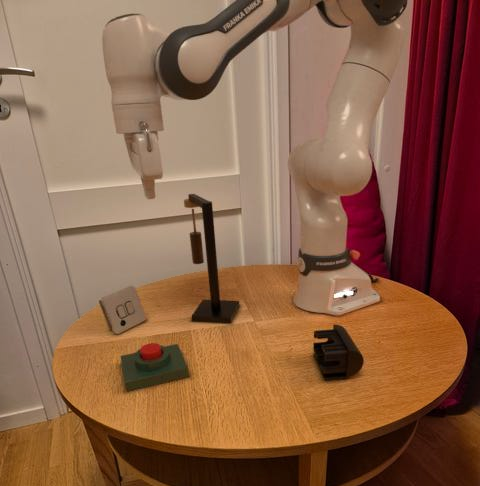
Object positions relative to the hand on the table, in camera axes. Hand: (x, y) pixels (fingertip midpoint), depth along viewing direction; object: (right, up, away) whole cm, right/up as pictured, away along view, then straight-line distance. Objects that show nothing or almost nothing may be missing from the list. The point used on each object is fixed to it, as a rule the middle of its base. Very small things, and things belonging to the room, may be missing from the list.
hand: (150, 197), depth 82 cm
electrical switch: (-10, -26, +18) cm, 34 cm away
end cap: (+37, -34, -2) cm, 50 cm away
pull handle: (+7, -9, +27) cm, 30 cm away
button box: (+1, -35, 0) cm, 35 cm away
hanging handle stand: (+11, -21, +25) cm, 35 cm away
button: (+1, -32, -2) cm, 32 cm away
